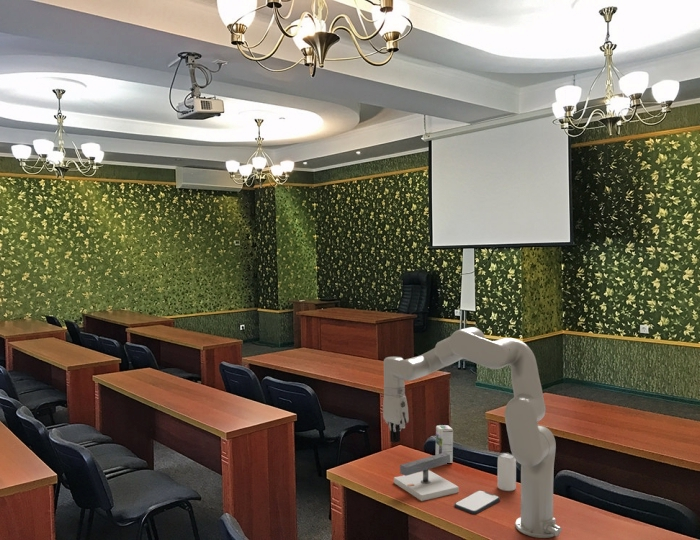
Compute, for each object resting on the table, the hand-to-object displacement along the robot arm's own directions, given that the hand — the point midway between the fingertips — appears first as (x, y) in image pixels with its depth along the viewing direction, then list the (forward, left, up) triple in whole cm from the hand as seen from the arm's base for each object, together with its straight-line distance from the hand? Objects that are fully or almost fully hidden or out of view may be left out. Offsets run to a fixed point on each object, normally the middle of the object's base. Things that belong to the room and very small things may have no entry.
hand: (395, 441), depth 205 cm
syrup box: (+13, -32, -17) cm, 39 cm away
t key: (-5, -10, -15) cm, 19 cm away
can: (-19, -36, -17) cm, 44 cm away
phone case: (-24, -18, -18) cm, 35 cm away
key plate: (-5, -10, -17) cm, 20 cm away
